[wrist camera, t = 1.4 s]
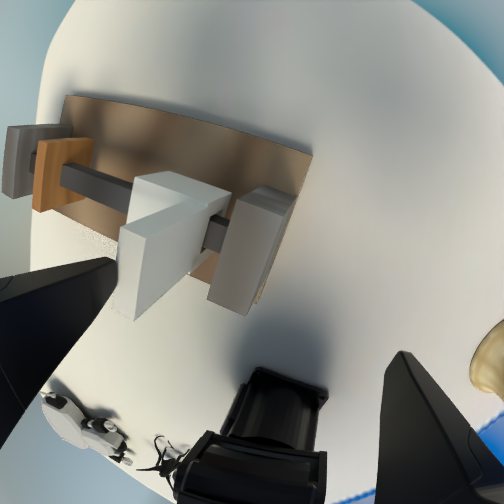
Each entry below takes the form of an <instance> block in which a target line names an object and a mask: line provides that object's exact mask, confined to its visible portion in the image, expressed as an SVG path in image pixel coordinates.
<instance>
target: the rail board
mask: <svg viewBox="0 0 504 504" xmlns="http://www.w3.org/2000/svg"><path fill="white" fill-rule="evenodd" d="M312 157H313V156H311V155H308V154H306V153H303V152H300V151H297V150H295V149H292V148H289V147H286V146H283V145H280V144H277V143H274V142H271V141H268V140H265V139H262V138H259V137H256V136H253V135H250V134H247V133H243V132H240V131H237V130H233V129H230V128H227V127H223V126H219V125H216V124H212V123H209V122H205V121H201V120H197V119H193V118H189V117H185V116H181V115H177V114H173V113H169V112H164V111H160V110H155V109H150V108H146V107H141V106H136V105H130V104H125V103H119V102H114V101H108V100H101V99H95V98H88V97H81V96H72V95H66V97H65V101H64V105H63V110H62V114H61V119H60V124H38V125H22V126H8V128H7V135H6V143H5V151H4V162H3V175H2V193H4V194H5V195H7V196H9V197H10V198H12V199H16V198H19V197H23V196H27V195H30V194H33V199H32V208H33V209H34V210H36V211H38V212H40V213H41V212H44V211H47V210H50V209H53V210H55V211H57V212H59V213H61V214H63V215H65V216H67V217H69V218H71V219H73V220H75V221H77V222H78V223H80V224H82V225H84V226H86V227H88V228H90V229H92V230H94V231H96V232H98V233H100V234H102V235H104V236H107V237H109V238H111V239H113V240H115V241H117V242H118V240H119V233H120V227H121V226H124V225H126V222H127V216H128V210H129V204H130V199H131V193H132V188H133V183H134V178H135V177H137V176H142V175H148V174H153V173H159V172H165V171H171V172H174V173H177V174H180V175H183V176H186V177H189V178H192V179H195V180H197V181H200V182H203V183H206V184H209V185H212V186H215V187H217V188H220V189H223V190H226V191H228V192H231V193H232V195H231V198H230V202H229V205H228V208H227V211H226V215H225V218H224V217H221V216H219V215H216V214H214V215H212V216H210V219H209V223H208V226H207V230H206V233H205V237H204V241H203V244H202V247H205V248H207V249H209V250H212V251H214V253H213V254H212V255H210V256H209V257H208V258H207V259H206V260H205V261H204V262H203V263H202V264H200V265H199V266H198V267H197V268H196V269H195V270H194V271H193V272H192V273H190V274H188V275H190V276H192V277H194V278H197V279H199V280H201V281H203V282H206V283H208V284H210V285H211V286H210V289H209V293H208V296H207V300H209V301H211V302H213V303H216V304H218V305H220V306H223V307H225V308H227V309H230V310H232V311H234V312H237V313H239V314H241V315H244V316H246V315H247V313H248V311H249V309H250V307H251V305H252V303H255V304H257V302H258V300H259V298H260V295H261V292H262V290H263V287H264V285H265V282H266V280H267V277H268V275H269V272H270V269H271V267H272V264H273V262H274V259H275V256H276V254H277V251H278V249H279V246H280V243H281V241H282V238H283V235H284V233H285V230H286V228H287V225H288V222H289V220H290V217H291V214H292V212H293V209H294V206H295V204H296V201H297V198H298V195H299V193H300V190H301V187H302V185H303V182H304V179H305V176H306V174H307V171H308V168H309V165H310V163H311V160H312Z"/></svg>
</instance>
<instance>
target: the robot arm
mask: <svg viewBox="0 0 504 504" xmlns="http://www.w3.org/2000/svg"><path fill="white" fill-rule="evenodd" d="M116 286H117V263H116V261H115V260H113V259H111V258H108V257H101V258H96V259H91V260H86V261H81V262H76V263H71V264H66V265H61V266H56V267H51V268H47V269H42V270H37V271H32V272H28V273H24V274H18V275H15V276H9V277H5V278H0V449H1V448H2V446H3V444H4V443H5V441H6V440H7V438H8V437H9V435H10V433H11V432H12V430H13V429H14V427H15V426H16V424H17V423H18V421H19V420H20V418H21V417H22V415H23V414H24V412H25V410H26V409H27V408H28V406H29V405H30V403H31V402H32V401H33V399H34V398H35V396H36V395H37V394H38V392H39V391H40V390H41V388H42V387H43V385H44V384H45V383H46V381H47V380H48V379H49V377H50V376H51V375H52V373H53V372H54V371H55V369H56V368H57V367H58V365H59V364H60V363H61V361H62V360H63V359H64V357H65V356H66V355H67V354H68V352H69V351H70V350H71V348H72V347H73V346H74V345H75V343H76V342H77V341H78V340H79V338H80V337H81V336H82V335H83V333H84V332H85V331H86V330H87V329H88V327H89V326H90V325H91V323H92V322H93V321H94V319H95V318H96V317H97V315H98V314H99V312H100V311H101V309H102V308H103V306H104V305H105V303H106V302H107V300H108V299H109V297H110V296H111V294H112V293H113V291H114V290H115V288H116ZM258 372H259V373H261V374H259V373H258ZM328 396H329V394H328V392H327V391H325V390H322V389H319V388H316V387H313V386H310V385H307V384H305V383H302V382H299V381H296V380H293V379H291V378H288V377H285V376H283V375H280V374H277V373H275V372H272V371H270V370H267V369H264V368H262V367H257V368H255V369H254V371H253V373H252V375H251V377H250V379H249V381H248V383H247V384H245V383H243V384H241V385H240V387H239V390H238V392H237V394H236V396H235V398H234V400H233V402H232V405H231V407H230V409H229V412H228V414H227V416H226V418H225V421H224V423H223V425H222V427H221V430H220V434H221V435H220V434H216V433H215V432H213V431H209V430H207V431H206V432H205V433H204V435H203V436H202V437H200V439H199V440H198V441H197V443H196V444H195V445H194V446H193V448H192V449H191V450H190V452H189V453H188V454H187V456H186V457H185V458H184V459H183V461H182V462H181V463H180V465H179V466H178V468H177V469H176V470H175V471H174V473H173V476H172V478H173V480H174V481H175V482H174V487H173V496H174V499H175V500H176V501H177V504H324V501H325V496H326V483H327V452H326V451H319V452H314V445H315V438H316V430H317V423H318V415H319V410H320V409H321V408H322V406H323V405H324V404H325V402H326V401H327V400H328ZM374 504H504V466H503V465H502V464H501V463H500V461H499V460H498V459H497V458H496V457H495V456H494V454H493V453H492V452H491V451H490V450H489V448H488V447H487V446H486V445H485V443H484V442H483V441H482V440H481V438H480V437H479V436H478V435H477V433H476V432H475V431H474V429H473V428H472V427H470V424H469V423H468V422H467V420H466V419H465V418H464V416H463V415H462V414H461V413H460V411H459V410H458V409H457V408H456V406H455V405H454V404H453V403H452V401H451V400H450V399H449V398H448V396H447V395H446V394H445V393H444V391H443V390H442V389H441V388H440V386H439V385H438V384H437V383H436V382H435V380H434V379H433V378H432V377H431V376H430V374H429V373H428V372H427V371H426V370H425V368H424V367H423V366H422V365H421V364H420V362H419V361H418V360H417V359H416V358H415V357H414V355H413V354H412V353H410V352H406V351H399V352H397V354H396V355H395V357H394V358H393V360H392V361H391V363H390V364H389V366H388V367H387V369H386V371H385V374H384V385H383V395H382V404H381V413H380V437H379V458H378V472H377V484H376V494H375V503H374Z"/></svg>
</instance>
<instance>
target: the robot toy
mask: <svg viewBox="0 0 504 504" xmlns="http://www.w3.org/2000/svg"><path fill="white" fill-rule="evenodd" d="M38 393H40V394H43V395H46V396H45V397H44V398H43V399H42V400H41V405H42V410H43V412H44V415H45V417H46V419H47V420H48V422H49V423H50V425H51V426H52V427H53V429H54V430H55V431H56V432H57V433H58V434H59V435H60V436H61V437H62V438H61V439H62V440H64V441H65V440H66V441H67V442H69V443H71V444H73V445H75V446H77V447H79V448H81V449H86V448H88V447H90V448H92V449H93V450H95V451H97V452H99V453H101V454H103V455H105V456H109V457H110V458H111V459H113V460H115V461H116V462H118V463H120V462H121V460H122V462H123V463H124V464H126V465H128V466H131V465H132V463H133V461H132V460H131V459H129V458H126V457H123V456H124V454H125V453H123V452H124V451H125V450H126V448H127V445H126V443H125V441H124V440H123V439H124V438H123V437H122V436H121V435H120V434H119V433H117V432H116V431H117V428H116V426H114V424H113V423H112V422H111V421H108V420H107V419H106V418H97V419H95V420H90V419H87V418H85V416H84V415H83V413H82V412H81V411H80V409H79V408H78V407H77V406H76V405H75V404H74V403H73V401H72V400H71V399H70V398H68V397H65V396H61V395H59V394H57V393H55V392H50V393H44V392H41V391H39V392H38Z"/></svg>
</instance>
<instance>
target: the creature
mask: <svg viewBox="0 0 504 504" xmlns="http://www.w3.org/2000/svg"><path fill="white" fill-rule="evenodd" d="M158 437H161V436H158ZM158 437H156V438H155V440H154V443H155V448H156V450H157V452H158V454H159V458H158V461H157V463H156V466H155V467H152V468H149V469H136V470H138V471H152V470H154V471H159V472H160V473H159V475H160V476H161V477H166V479H167V481H168V483H169V485H170V486H171V488H172V491H173V487H172V485H171V483H170V479H169V478H170V476H171V475H170V473H171V472H172V471H174V470H175V469H177V468H178V466H179V465H180V463H181V462H178V461H179V460H180V459H181V457H184V456H185V455H186V454H187V453H188V451H189V450H190V449H188V450H187V452H186V453H185V454H183V455H179V456H178V458H177V460H176V461H175V458H172V459H169V460H164V459H163V458H164V455H165V452H166V449H165V450H164V452H163V455H162V454H161V452H160V451H159V449H158V447H157V445H156V442H155V441H156V439H157V438H158ZM163 437H164V436H163ZM168 443H169V441H168ZM169 444H170V443H169ZM170 446H171V445H170ZM166 448H167V447H166ZM170 448H173V447H172V446H171V447H170ZM173 449H174V448H173ZM161 459H162V462H161V465H160V466H158V465H159V463H160V461H161Z"/></svg>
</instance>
